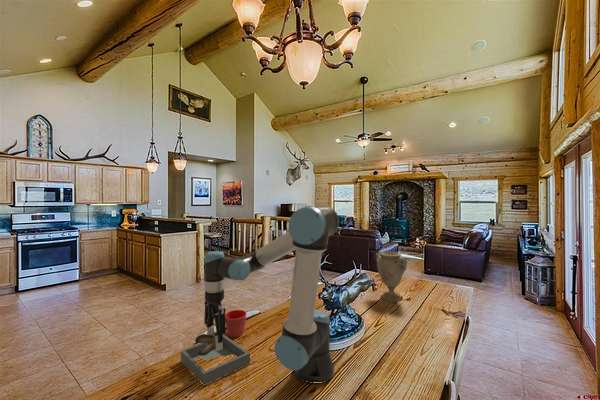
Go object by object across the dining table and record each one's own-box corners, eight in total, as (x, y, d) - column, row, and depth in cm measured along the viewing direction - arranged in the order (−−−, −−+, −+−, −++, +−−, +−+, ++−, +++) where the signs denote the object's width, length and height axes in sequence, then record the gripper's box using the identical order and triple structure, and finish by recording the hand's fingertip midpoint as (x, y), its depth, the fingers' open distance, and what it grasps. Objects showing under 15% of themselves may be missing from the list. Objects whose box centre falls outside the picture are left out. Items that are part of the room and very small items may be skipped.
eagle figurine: (209, 337, 119) (191, 343, 112) (218, 326, 118) (200, 330, 110) (217, 353, 115) (199, 360, 108) (226, 341, 114) (209, 347, 106)
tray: (250, 364, 114) (249, 353, 114) (203, 386, 101) (203, 374, 101) (223, 344, 130) (223, 334, 130) (180, 361, 116) (180, 350, 116)
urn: (367, 296, 191) (367, 252, 191) (384, 290, 202) (384, 248, 202) (398, 307, 172) (398, 258, 172) (415, 300, 183) (415, 254, 182)
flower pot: (224, 340, 133) (224, 320, 133) (224, 330, 144) (224, 310, 144) (247, 337, 136) (247, 317, 136) (245, 327, 147) (245, 308, 147)
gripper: (235, 293, 110) (235, 352, 111) (212, 282, 125) (212, 334, 125) (217, 298, 105) (217, 360, 106) (195, 286, 119) (195, 340, 120)
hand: (214, 346), depth 115 cm, fingers closed on eagle figurine, 7 cm apart
